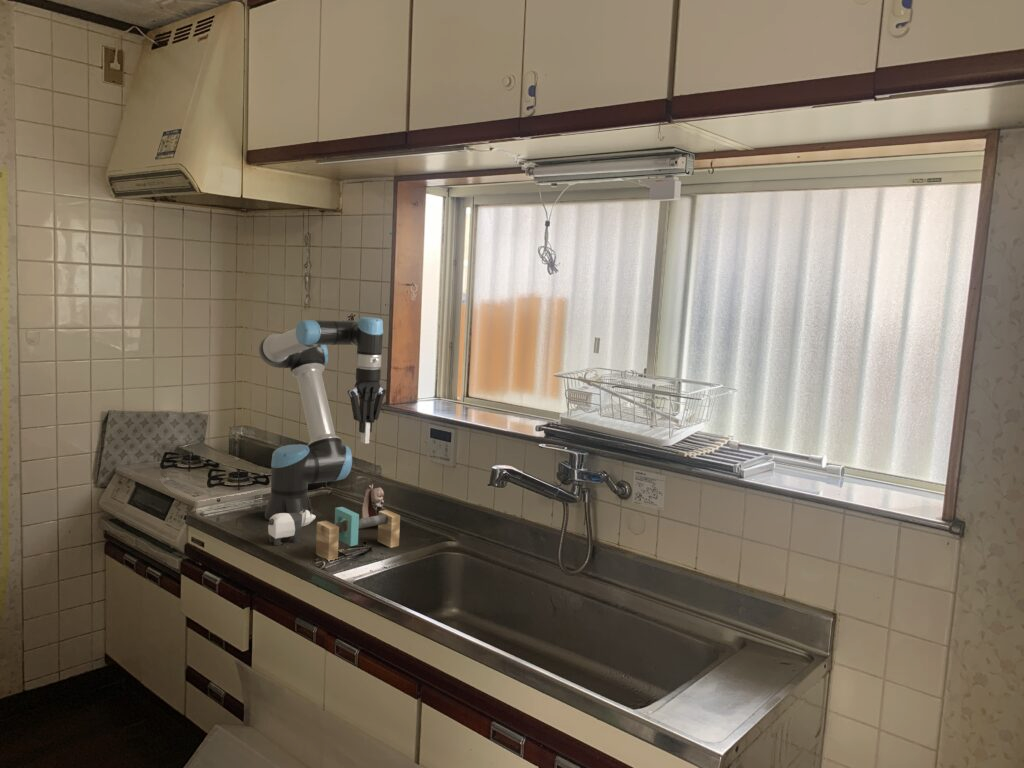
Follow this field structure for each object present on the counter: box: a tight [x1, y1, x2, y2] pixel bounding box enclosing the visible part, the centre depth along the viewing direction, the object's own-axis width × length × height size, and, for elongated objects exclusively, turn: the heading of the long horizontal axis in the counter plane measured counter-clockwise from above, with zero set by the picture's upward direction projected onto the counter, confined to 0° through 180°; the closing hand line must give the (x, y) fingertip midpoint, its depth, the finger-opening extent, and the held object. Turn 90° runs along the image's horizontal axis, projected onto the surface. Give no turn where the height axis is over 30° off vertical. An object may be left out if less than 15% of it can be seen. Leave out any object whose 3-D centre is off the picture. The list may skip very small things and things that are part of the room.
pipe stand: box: [315, 509, 401, 562], centre depth 228 cm, size 24×7×10 cm, turn 133°
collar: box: [334, 506, 360, 547], centre depth 225 cm, size 2×9×9 cm, turn 43°
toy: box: [361, 483, 388, 529], centre depth 251 cm, size 9×8×15 cm
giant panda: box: [267, 508, 317, 546], centre depth 233 cm, size 15×6×10 cm, turn 130°
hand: (364, 442), depth 242 cm, fingers closed
